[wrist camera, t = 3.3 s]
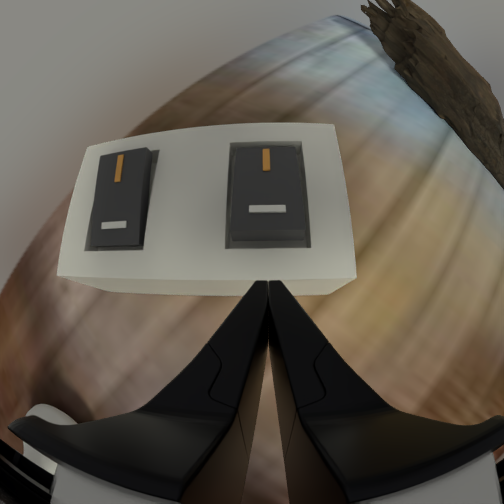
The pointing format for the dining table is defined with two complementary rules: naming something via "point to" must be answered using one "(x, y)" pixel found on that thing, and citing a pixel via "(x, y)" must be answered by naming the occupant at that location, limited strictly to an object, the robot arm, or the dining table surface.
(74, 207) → the box
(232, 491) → the robot arm
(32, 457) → the flower in vase
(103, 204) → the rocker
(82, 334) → the dining table surface
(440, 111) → the driftwood
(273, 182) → the rocker
